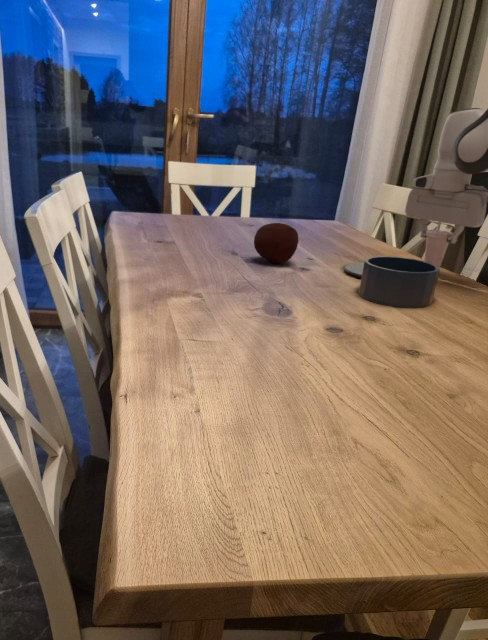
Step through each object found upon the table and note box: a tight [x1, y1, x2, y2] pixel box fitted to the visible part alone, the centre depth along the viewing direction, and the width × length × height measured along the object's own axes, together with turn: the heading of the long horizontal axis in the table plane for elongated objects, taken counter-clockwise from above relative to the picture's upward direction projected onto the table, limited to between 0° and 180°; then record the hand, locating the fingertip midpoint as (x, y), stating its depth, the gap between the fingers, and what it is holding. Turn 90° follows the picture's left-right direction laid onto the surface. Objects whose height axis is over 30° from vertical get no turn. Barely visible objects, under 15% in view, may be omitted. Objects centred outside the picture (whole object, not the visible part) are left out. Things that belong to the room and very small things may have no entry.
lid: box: [344, 255, 377, 278], centre depth 147 cm, size 17×17×5 cm
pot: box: [358, 255, 441, 309], centre depth 127 cm, size 16×16×8 cm
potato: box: [253, 222, 300, 264], centre depth 153 cm, size 11×13×10 cm
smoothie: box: [423, 222, 454, 270], centre depth 147 cm, size 6×6×14 cm
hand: (437, 240), depth 146 cm, fingers closed on smoothie, 6 cm apart
